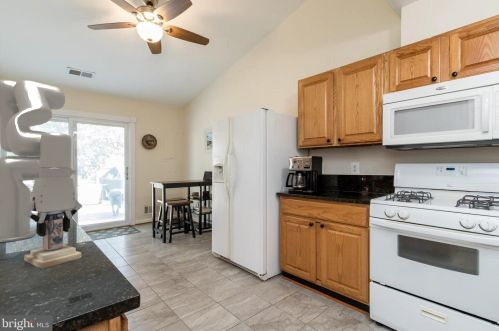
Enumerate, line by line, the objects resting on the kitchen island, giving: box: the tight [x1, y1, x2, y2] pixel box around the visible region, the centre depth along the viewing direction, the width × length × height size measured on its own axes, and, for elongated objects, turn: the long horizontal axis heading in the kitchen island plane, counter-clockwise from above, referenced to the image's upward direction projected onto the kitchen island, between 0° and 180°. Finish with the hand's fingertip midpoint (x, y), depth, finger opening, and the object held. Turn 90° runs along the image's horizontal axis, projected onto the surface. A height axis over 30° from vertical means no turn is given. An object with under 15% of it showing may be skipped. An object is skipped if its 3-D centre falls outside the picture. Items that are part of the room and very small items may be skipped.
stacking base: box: [23, 243, 83, 270], centre depth 75 cm, size 12×10×3 cm
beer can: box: [42, 211, 64, 251], centre depth 75 cm, size 5×5×12 cm
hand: (53, 232), depth 75 cm, fingers open, 5 cm apart
